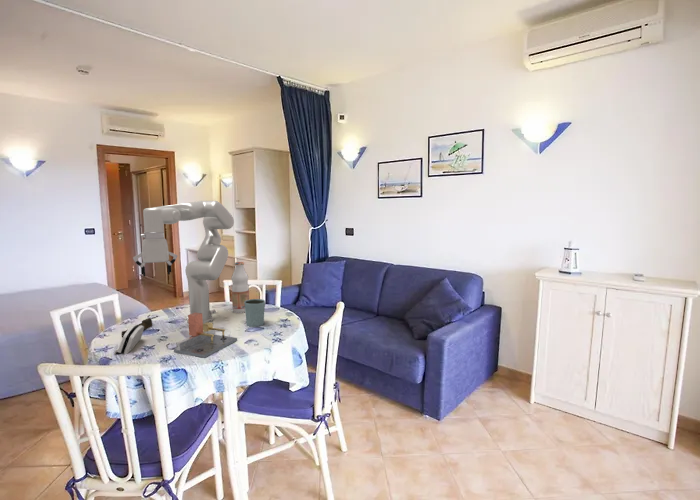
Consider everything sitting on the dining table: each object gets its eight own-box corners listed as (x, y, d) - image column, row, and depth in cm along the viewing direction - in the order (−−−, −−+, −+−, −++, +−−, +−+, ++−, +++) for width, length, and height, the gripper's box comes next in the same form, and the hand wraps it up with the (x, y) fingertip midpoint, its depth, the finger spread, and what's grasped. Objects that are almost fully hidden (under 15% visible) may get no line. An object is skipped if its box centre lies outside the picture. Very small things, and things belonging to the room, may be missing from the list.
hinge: (128, 340, 165) (135, 319, 165) (139, 342, 166) (146, 322, 166) (113, 355, 149) (120, 331, 148) (125, 357, 150) (133, 334, 149)
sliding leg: (196, 338, 162) (195, 312, 161) (216, 341, 158) (215, 315, 157) (189, 341, 159) (188, 315, 157) (210, 345, 154) (208, 317, 153)
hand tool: (129, 339, 167) (128, 329, 166) (121, 339, 167) (120, 329, 167) (157, 326, 185) (156, 317, 185) (149, 325, 186) (149, 316, 185)
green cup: (243, 323, 189) (242, 300, 187) (262, 320, 194) (261, 297, 192) (248, 328, 180) (247, 304, 178) (268, 325, 185) (267, 302, 183)
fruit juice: (230, 313, 206) (227, 263, 202) (235, 308, 215) (233, 261, 212) (246, 313, 206) (244, 263, 202) (251, 308, 215) (250, 261, 211)
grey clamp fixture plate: (208, 336, 170) (208, 320, 169) (237, 340, 164) (236, 324, 163) (173, 352, 152) (172, 335, 151) (204, 357, 146) (203, 340, 145)
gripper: (131, 237, 153) (133, 278, 155) (176, 236, 161) (178, 274, 163) (131, 236, 160) (134, 275, 162) (175, 235, 168) (177, 272, 170)
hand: (156, 274), depth 163 cm, fingers open, 9 cm apart
